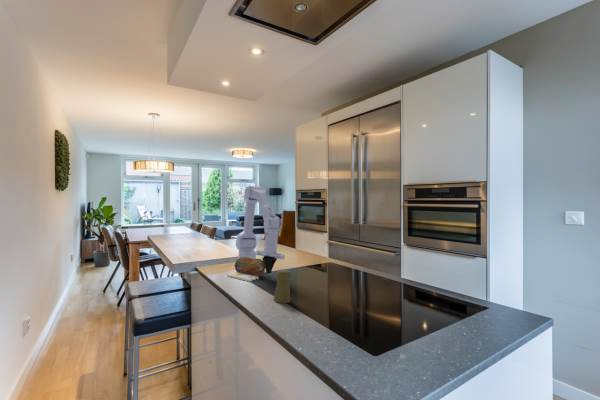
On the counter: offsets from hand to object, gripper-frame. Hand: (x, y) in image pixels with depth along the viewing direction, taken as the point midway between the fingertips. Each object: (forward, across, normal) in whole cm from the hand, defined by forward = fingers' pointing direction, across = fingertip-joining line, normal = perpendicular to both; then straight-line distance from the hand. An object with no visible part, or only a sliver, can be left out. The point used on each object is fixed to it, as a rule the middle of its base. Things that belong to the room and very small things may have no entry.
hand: (268, 273), depth 137 cm
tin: (+3, -11, 0) cm, 11 cm away
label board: (+3, -10, -6) cm, 12 cm away
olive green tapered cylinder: (+3, +21, -21) cm, 30 cm away
